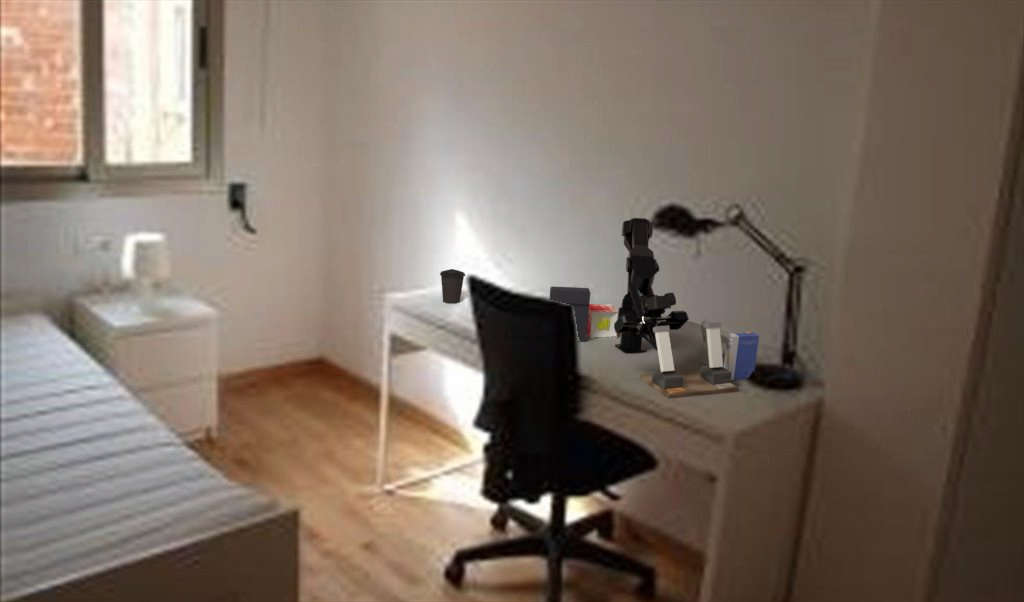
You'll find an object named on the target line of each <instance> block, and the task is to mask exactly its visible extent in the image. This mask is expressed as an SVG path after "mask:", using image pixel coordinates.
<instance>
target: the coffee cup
mask: <svg viewBox="0 0 1024 602" xmlns="http://www.w3.org/2000/svg"><path fill="white" fill-rule="evenodd" d="M439 275H440V279H441V280H440V281H441V292H442V293H441V295H442V302H444V303H445V304H449V305H450V304H453V305H454V304H455V305H456V304H460V302H461V297H462V292H463V291H462V290H463V285H464V277H465V276H466V273H465V272H464V271H461V270H458V269H454V268H450V269H445V270H441V271H440V272H439Z"/></svg>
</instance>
